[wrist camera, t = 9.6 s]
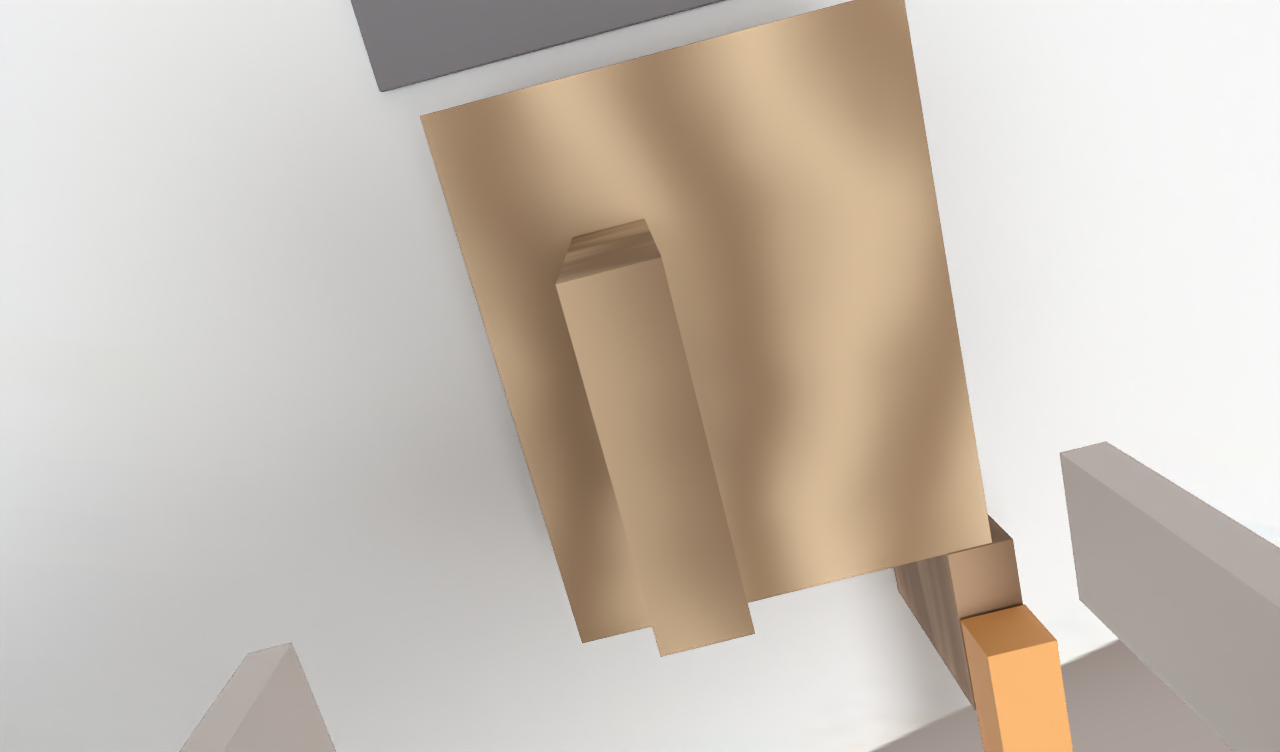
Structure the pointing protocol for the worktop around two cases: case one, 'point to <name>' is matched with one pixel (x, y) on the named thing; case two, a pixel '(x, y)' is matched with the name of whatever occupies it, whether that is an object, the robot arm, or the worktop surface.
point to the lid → (722, 318)
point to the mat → (485, 30)
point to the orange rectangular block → (1016, 682)
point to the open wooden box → (960, 595)
